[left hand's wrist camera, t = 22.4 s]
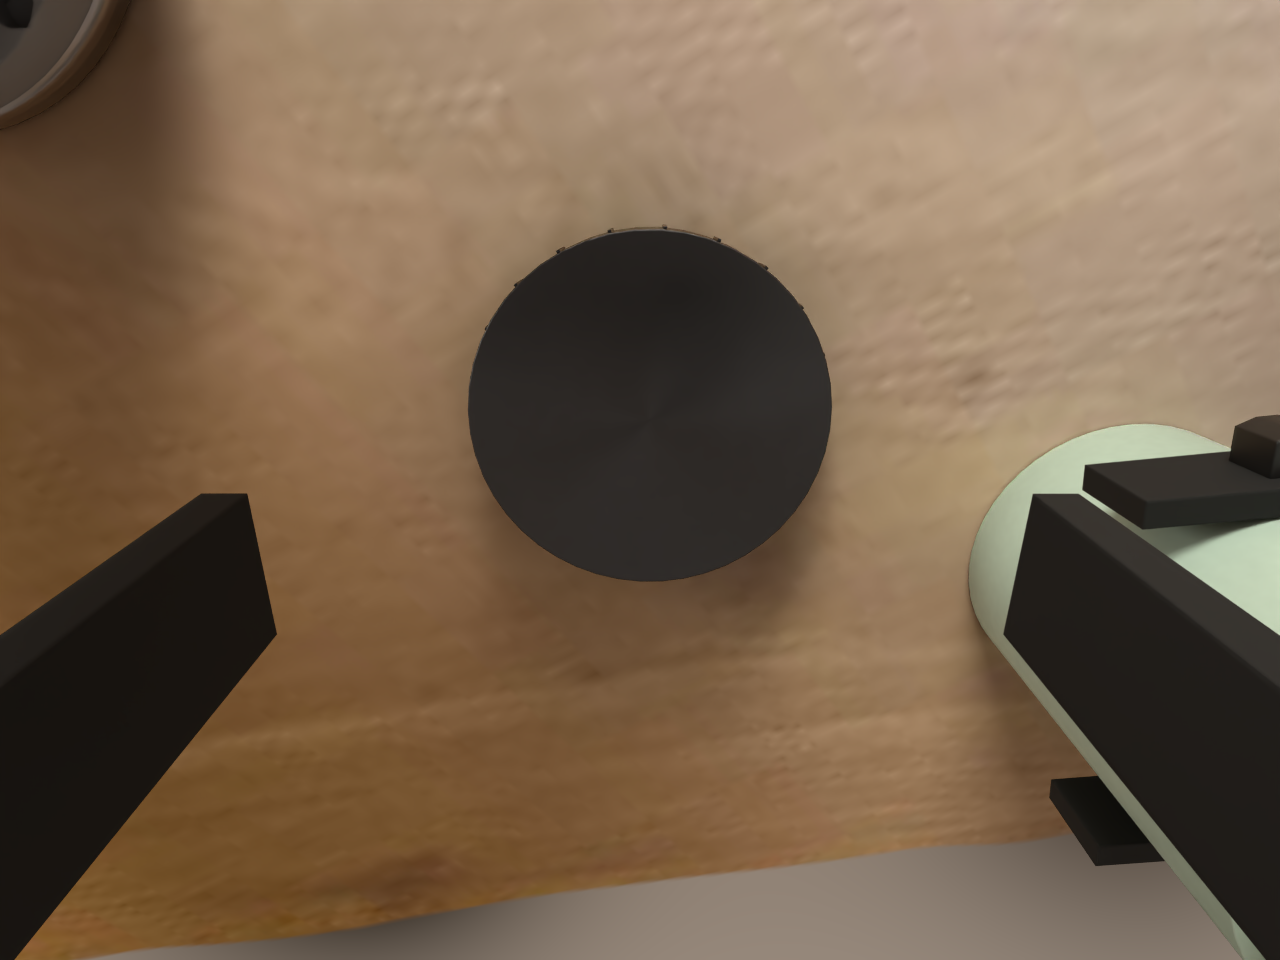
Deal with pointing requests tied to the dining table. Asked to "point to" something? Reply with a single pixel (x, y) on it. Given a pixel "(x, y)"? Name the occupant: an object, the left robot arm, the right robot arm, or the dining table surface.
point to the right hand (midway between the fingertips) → (1090, 672)
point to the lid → (649, 404)
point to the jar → (1215, 553)
